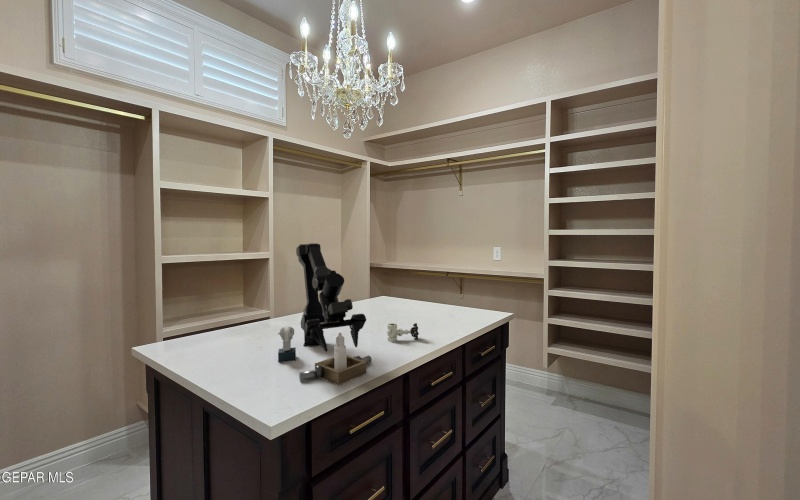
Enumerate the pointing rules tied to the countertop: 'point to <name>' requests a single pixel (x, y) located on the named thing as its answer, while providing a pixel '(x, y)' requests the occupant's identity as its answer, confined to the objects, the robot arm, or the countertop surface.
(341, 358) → the white bottle
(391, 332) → the valve
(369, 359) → the input shaft
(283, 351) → the rubber stamp
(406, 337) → the countertop surface
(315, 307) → the robot arm
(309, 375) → the output shaft
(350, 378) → the square brown wooden tray
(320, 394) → the countertop surface
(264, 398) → the countertop surface
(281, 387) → the countertop surface
